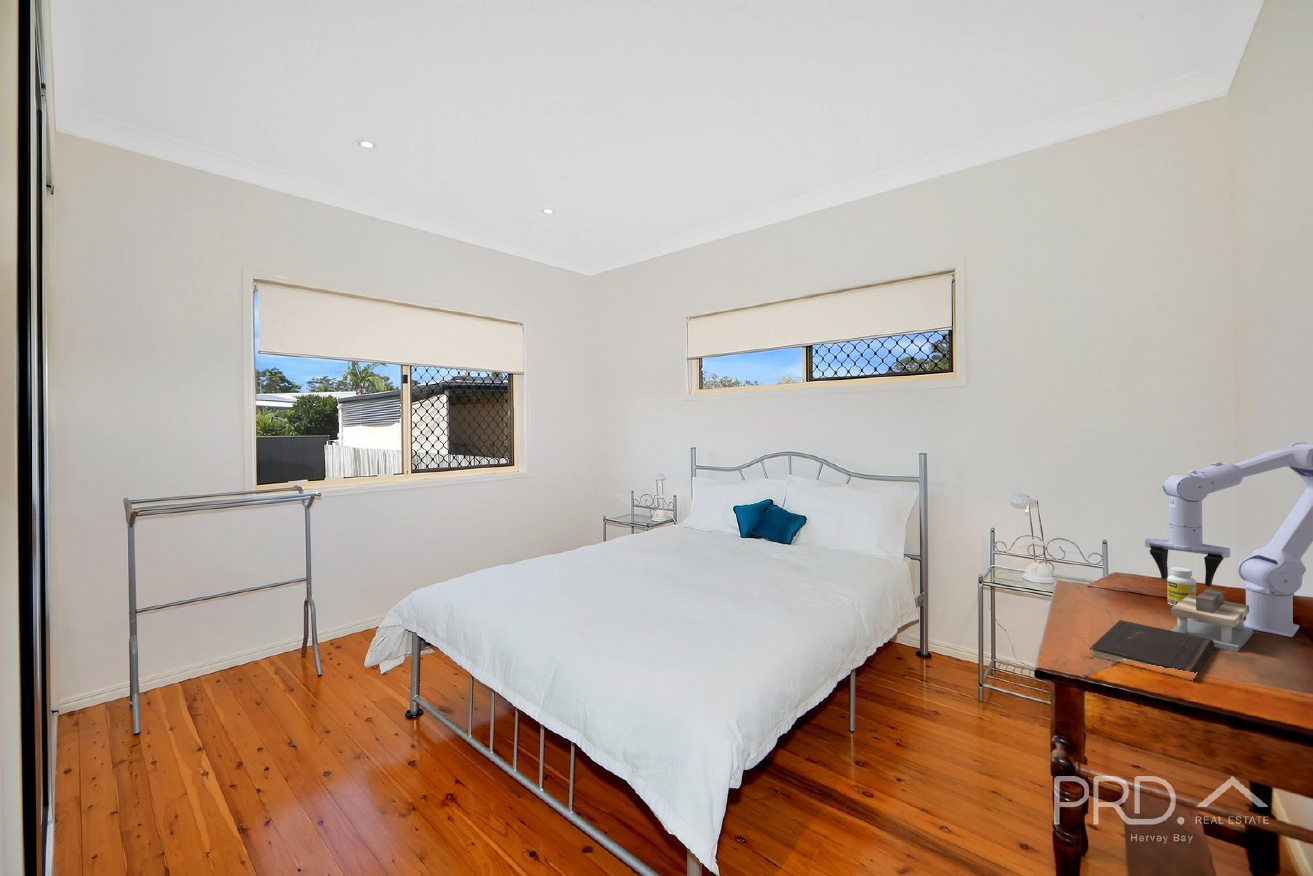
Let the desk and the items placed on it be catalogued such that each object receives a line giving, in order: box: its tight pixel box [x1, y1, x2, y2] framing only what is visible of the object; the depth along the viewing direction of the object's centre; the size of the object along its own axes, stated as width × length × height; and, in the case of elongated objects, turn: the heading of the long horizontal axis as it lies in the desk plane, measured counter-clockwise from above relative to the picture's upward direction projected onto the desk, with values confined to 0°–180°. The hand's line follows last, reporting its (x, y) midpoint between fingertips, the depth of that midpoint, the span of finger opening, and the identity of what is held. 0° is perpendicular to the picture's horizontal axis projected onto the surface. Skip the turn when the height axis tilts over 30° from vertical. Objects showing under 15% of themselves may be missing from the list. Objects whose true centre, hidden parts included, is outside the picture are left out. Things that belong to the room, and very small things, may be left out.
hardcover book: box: [1089, 619, 1215, 673], centre depth 117 cm, size 16×23×2 cm
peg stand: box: [1169, 616, 1254, 652], centre depth 124 cm, size 15×11×5 cm
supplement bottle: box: [1166, 566, 1197, 607], centre depth 142 cm, size 5×5×10 cm
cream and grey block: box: [1170, 587, 1249, 627], centre depth 124 cm, size 14×10×4 cm
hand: (1186, 581), depth 130 cm, fingers open, 7 cm apart
